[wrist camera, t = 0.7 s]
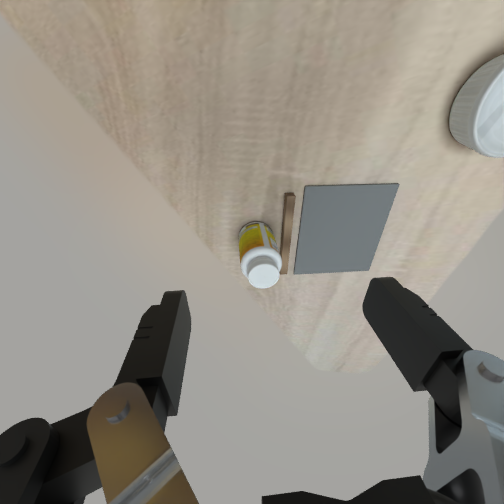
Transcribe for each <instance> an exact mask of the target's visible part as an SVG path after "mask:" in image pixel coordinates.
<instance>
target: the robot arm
mask: <svg viewBox="0 0 504 504" xmlns="http://www.w3.org/2000/svg"><path fill="white" fill-rule="evenodd" d="M363 313H364V316H365V318H366V319H367V321H368V322H369V324H370V325H371V327H372V328H373V330H374V332H375V333H376V335H377V336H378V338H379V339H380V341H381V342H382V344H383V345H384V347H385V348H386V350H387V351H388V353H389V354H390V355H391V357H392V359H393V361H394V362H395V364H396V365H397V367H398V368H399V370H400V371H401V373H402V374H403V376H404V377H405V379H406V380H407V382H408V383H409V385H410V387H411V388H412V389H413V391H414V392H416V391H424V390H427V391H428V392H429V393H430V395H431V397H430V398H429V403H428V407H429V459H428V463H427V465H426V468H425V471H424V476H423V480H422V478H421V476H420V475H419V476H412V477H404V478H397V479H389V480H383V481H381V482H379V483H378V484H376V485H375V486H373V487H371V488H369V489H368V490H366V491H364V492H363V493H361V494H360V495H358V496H356V497H355V498H353V499H351V500H349V501H343V500H339V499H334V498H330V497H326V496H321V495H317V494H313V493H308V492H304V491H299V492H291V493H284V494H276V495H269V496H262V504H504V361H503V360H501V359H499V358H498V357H496V356H494V355H492V354H489V353H487V352H483V351H478V350H473V349H472V348H471V347H470V346H469V345H468V344H467V343H466V342H465V341H464V340H463V339H462V338H461V337H460V336H459V335H458V334H457V333H456V332H455V331H454V330H453V329H451V327H450V326H449V325H447V323H445V321H444V320H443V319H442V318H441V317H439V316H437V314H436V313H435V312H434V311H433V310H432V309H431V308H429V307H428V305H427V304H426V303H425V302H424V301H423V300H422V299H421V298H420V297H419V296H418V295H416V294H415V293H413V292H412V291H410V290H408V289H407V288H403V286H402V285H401V284H400V283H399V282H398V281H397V280H396V279H395V278H393V277H381V278H373V279H372V280H371V281H370V284H369V287H368V290H367V293H366V296H365V299H364V302H363ZM190 332H191V316H190V311H189V307H188V302H187V297H186V293H185V291H184V290H180V291H167V292H165V293H164V295H163V298H162V301H161V304H160V305H153V306H151V307H150V308H149V309H148V310H147V311H146V312H145V313H144V315H143V316H142V318H141V320H140V323H139V325H138V330H136V333H135V335H134V340H132V343H131V345H130V348H129V350H128V353H127V355H126V357H125V360H124V363H123V365H122V367H121V370H120V373H119V375H118V377H117V380H116V382H115V384H114V386H113V387H112V388H110V389H109V390H107V391H106V392H105V393H103V394H102V395H101V396H100V397H99V399H97V401H96V402H95V403H94V405H93V406H92V407H90V408H88V409H86V410H84V411H82V412H79V413H77V414H75V415H72V416H70V417H67V418H65V419H62V420H60V421H58V422H55V423H53V424H49V423H48V422H47V421H46V420H44V419H42V418H30V419H27V420H24V421H21V422H19V423H17V424H15V425H14V426H12V427H10V428H9V429H8V430H6V431H5V432H3V433H2V434H1V435H0V504H83V503H84V500H85V496H86V495H88V494H90V493H92V492H94V491H95V490H97V489H99V488H101V487H103V491H104V495H105V498H106V502H107V504H199V503H198V500H197V498H196V496H195V494H194V492H193V490H192V488H191V486H190V484H189V482H188V481H187V479H186V476H185V474H184V472H183V470H182V468H181V466H180V465H179V462H178V460H177V458H176V456H175V454H174V452H173V450H172V448H171V446H170V444H169V442H168V440H167V438H166V436H165V434H164V431H165V426H166V421H167V416H176V415H177V413H178V406H179V400H180V394H181V387H182V382H183V376H184V369H185V363H186V357H187V350H188V345H189V339H190Z"/></svg>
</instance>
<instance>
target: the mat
mask: <svg viewBox="0 0 504 504" xmlns="http://www.w3.org/2000/svg"><path fill="white" fill-rule="evenodd" d="M398 187H399V184H398V183H394V184H354V185H315V186H305V189H304V197H303V205H302V212H301V220H300V228H299V236H298V243H297V251H296V259H295V267H294V274H313V273H332V272H351V271H369V269H370V266H371V263H372V260H373V257H374V255H375V252H376V249H377V246H378V243H379V241H380V238H381V235H382V232H383V229H384V226H385V224H386V221H387V218H388V215H389V212H390V210H391V207H392V204H393V201H394V198H395V196H396V193H397V190H398Z"/></svg>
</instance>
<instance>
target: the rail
mask: <svg viewBox="0 0 504 504" xmlns="http://www.w3.org/2000/svg"><path fill="white" fill-rule="evenodd" d="M295 197H296V196H295V195H294V193H285V200H284V212H283V225H282V237H281V249H280V256H281V259H282V267H281V270H280V271H279V272H280V274H287V270H288V261H289V252H290V243H291V233H292V224H293V215H294V206H295Z"/></svg>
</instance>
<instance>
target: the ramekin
mask: <svg viewBox="0 0 504 504" xmlns="http://www.w3.org/2000/svg"><path fill="white" fill-rule="evenodd" d="M449 125H450V130H451V133H452V135H453V137H454V138H455V140H457V141H458V142H459V143H461V144H463V145H465V146H467V147H469V148H471V149H473V150H475V151H476V152H478V153H479V154H481V155H484V156H488V157H494V158H501V157H504V54H503V55H500V56H498V57H496V58H494V59H492V60H491V61H489V62H487V63H486V64H484V65H483V66H482V67H480V68H479V69H478V70H477V71H476V72H475V73H474V74H473V75H472V76H471V77H470V78H469V79H468V80H467V82H466V83H465V84H464V85H463V87H462V88H461V90H460V91H459V93H458V94H457V96H456V98H455V100H454V103H453V105H452V108H451V112H450V118H449Z"/></svg>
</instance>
